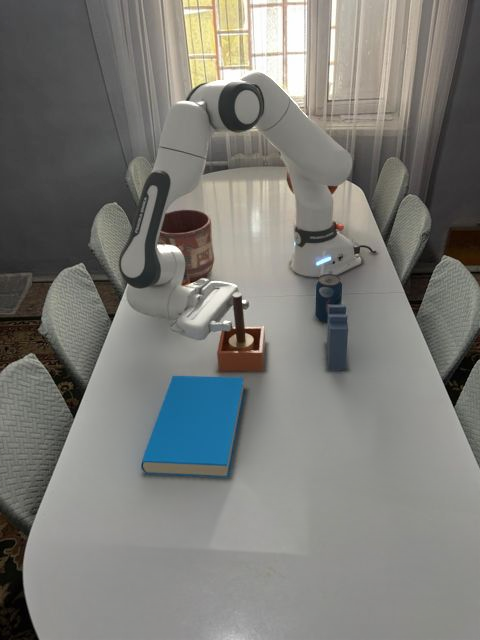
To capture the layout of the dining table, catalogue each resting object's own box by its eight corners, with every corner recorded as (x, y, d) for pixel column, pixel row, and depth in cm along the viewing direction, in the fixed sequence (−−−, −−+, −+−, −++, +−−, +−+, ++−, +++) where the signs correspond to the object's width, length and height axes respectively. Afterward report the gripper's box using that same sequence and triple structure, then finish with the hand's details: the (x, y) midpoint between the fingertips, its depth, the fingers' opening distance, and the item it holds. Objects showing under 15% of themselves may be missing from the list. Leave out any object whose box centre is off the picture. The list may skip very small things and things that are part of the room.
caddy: (219, 371, 123) (217, 353, 119) (224, 344, 131) (222, 326, 128) (263, 371, 122) (262, 352, 119) (265, 344, 130) (264, 326, 127)
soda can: (330, 328, 135) (332, 289, 127) (309, 319, 138) (310, 280, 131) (345, 316, 139) (348, 278, 131) (325, 308, 142) (326, 270, 135)
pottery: (152, 286, 157) (140, 231, 146) (174, 259, 170) (165, 207, 159) (206, 291, 153) (198, 235, 142) (224, 263, 166) (219, 211, 155)
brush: (238, 372, 126) (194, 328, 123) (248, 357, 130) (206, 315, 127) (277, 346, 116) (230, 297, 113) (287, 331, 120) (242, 284, 117)
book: (243, 376, 115) (228, 463, 95) (245, 391, 117) (230, 478, 97) (169, 375, 116) (138, 459, 96) (172, 389, 119) (142, 474, 99)
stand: (328, 370, 121) (330, 323, 113) (326, 344, 129) (328, 299, 121) (345, 370, 121) (348, 323, 113) (342, 344, 129) (345, 299, 121)
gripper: (163, 317, 114) (218, 329, 110) (206, 274, 129) (256, 283, 124) (167, 340, 118) (221, 352, 113) (208, 295, 133) (257, 305, 128)
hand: (239, 315), depth 119 cm, fingers open, 8 cm apart
